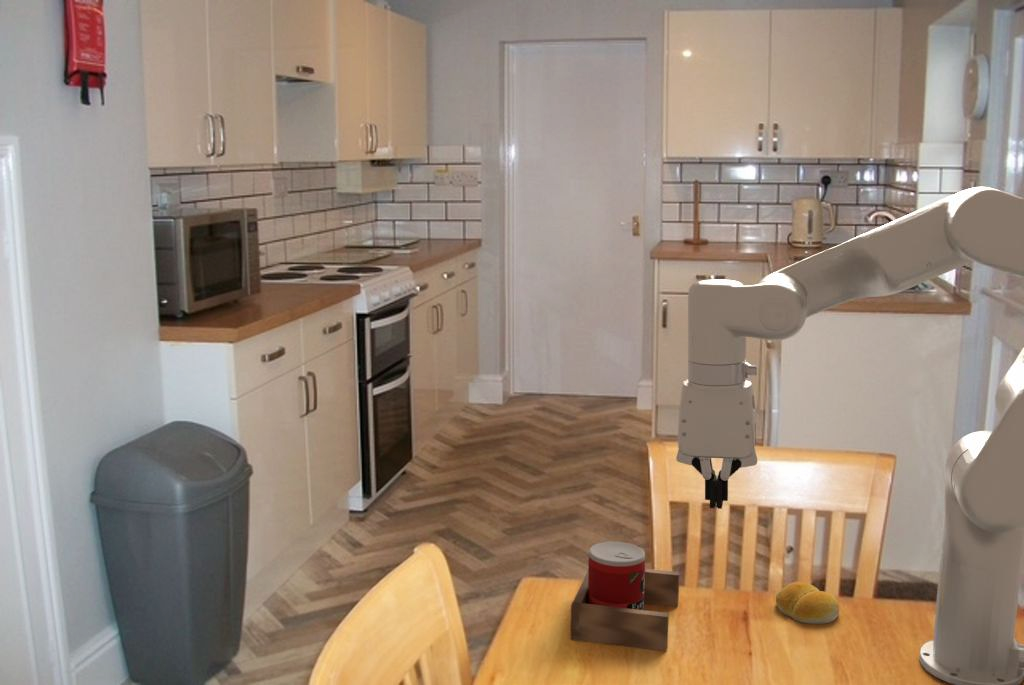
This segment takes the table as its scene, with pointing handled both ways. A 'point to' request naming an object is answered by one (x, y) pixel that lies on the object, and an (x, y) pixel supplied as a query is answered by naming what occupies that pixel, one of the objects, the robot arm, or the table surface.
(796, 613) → the bread roll
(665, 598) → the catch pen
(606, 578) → the canned food
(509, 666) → the table surface
